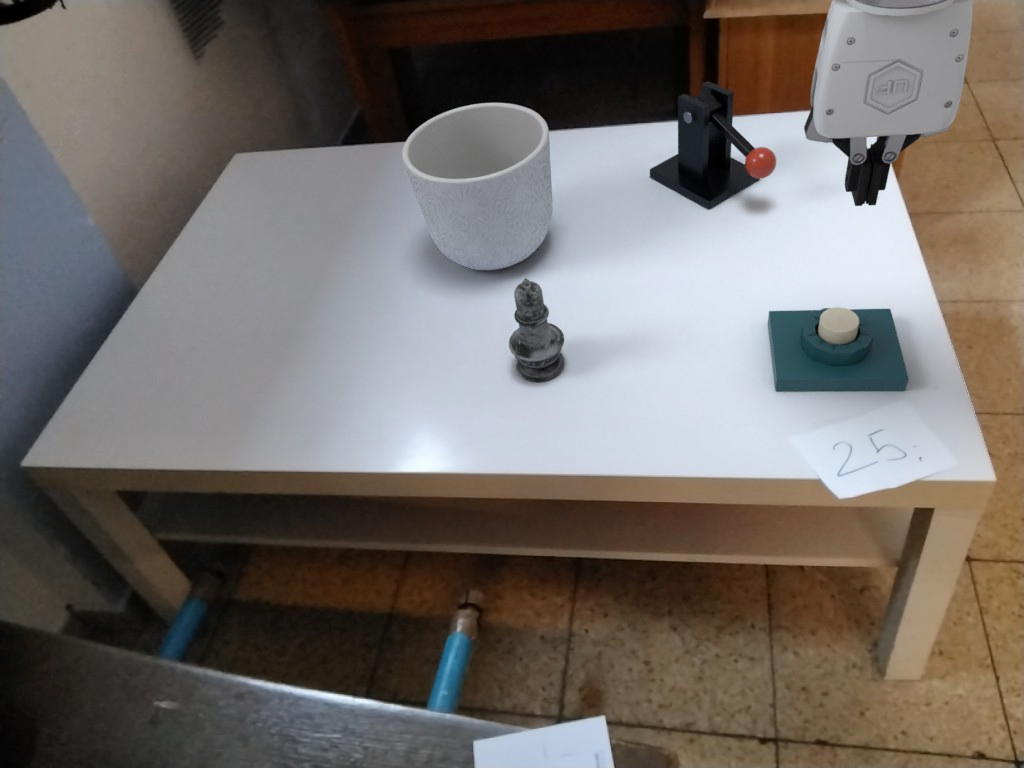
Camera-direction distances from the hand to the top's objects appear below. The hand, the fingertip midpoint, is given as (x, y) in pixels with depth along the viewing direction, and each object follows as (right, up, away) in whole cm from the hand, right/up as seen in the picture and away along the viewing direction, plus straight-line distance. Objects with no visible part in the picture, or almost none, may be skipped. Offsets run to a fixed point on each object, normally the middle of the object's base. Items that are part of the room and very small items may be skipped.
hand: (862, 196), depth 70 cm
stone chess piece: (-27, -14, +19) cm, 36 cm away
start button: (+2, -11, +11) cm, 16 cm away
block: (+3, -13, +14) cm, 19 cm away
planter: (-32, +1, +35) cm, 47 cm away
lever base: (-5, +11, +38) cm, 40 cm away
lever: (-3, +13, +31) cm, 34 cm away
